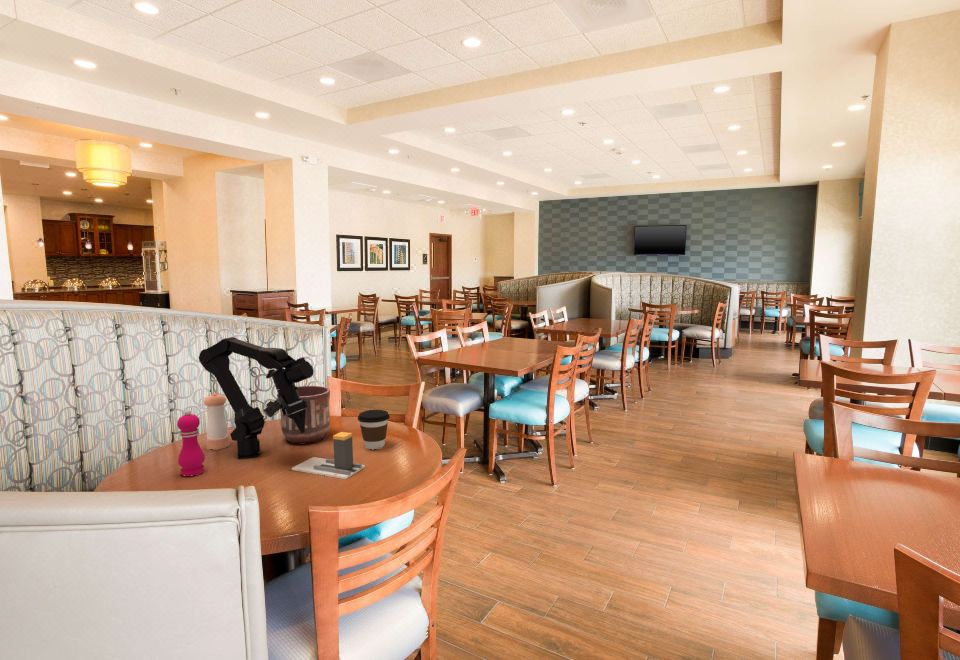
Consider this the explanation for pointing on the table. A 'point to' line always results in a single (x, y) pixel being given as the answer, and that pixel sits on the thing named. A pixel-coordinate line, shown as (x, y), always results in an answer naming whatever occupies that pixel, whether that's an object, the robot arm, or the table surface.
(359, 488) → the table surface
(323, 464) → the plate
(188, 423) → the pepper mill
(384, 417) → the coffee cup
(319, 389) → the pottery
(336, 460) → the fader knob
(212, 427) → the pepper shaker
